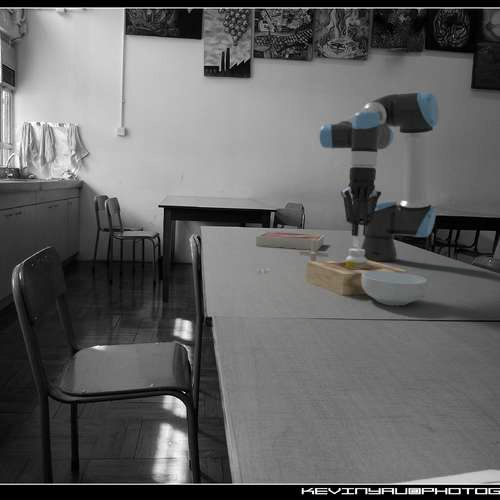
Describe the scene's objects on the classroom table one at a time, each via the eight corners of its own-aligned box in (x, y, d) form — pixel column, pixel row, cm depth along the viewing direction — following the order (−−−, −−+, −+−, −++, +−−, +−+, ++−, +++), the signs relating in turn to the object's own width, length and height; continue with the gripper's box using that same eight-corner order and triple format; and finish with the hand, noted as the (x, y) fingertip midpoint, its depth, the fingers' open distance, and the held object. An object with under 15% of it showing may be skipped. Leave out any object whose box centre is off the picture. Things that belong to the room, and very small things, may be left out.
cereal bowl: (415, 314, 125) (417, 285, 124) (350, 303, 134) (352, 276, 133) (431, 301, 140) (434, 275, 139) (372, 292, 148) (374, 267, 147)
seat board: (365, 277, 169) (366, 259, 168) (405, 291, 151) (407, 270, 150) (306, 280, 160) (307, 261, 159) (342, 295, 142) (343, 273, 141)
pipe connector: (326, 271, 178) (328, 242, 177) (297, 268, 180) (299, 240, 179) (327, 266, 188) (329, 239, 186) (300, 264, 190) (302, 237, 188)
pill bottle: (342, 283, 159) (344, 247, 157) (362, 283, 159) (364, 248, 157) (347, 287, 152) (349, 250, 151) (367, 288, 153) (370, 251, 151)
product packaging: (266, 241, 256) (267, 231, 255) (323, 245, 249) (323, 235, 248) (255, 246, 235) (256, 235, 234) (317, 251, 228) (318, 240, 227)
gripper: (373, 167, 157) (367, 244, 160) (337, 165, 151) (332, 245, 155) (389, 167, 150) (383, 248, 153) (351, 165, 145) (346, 249, 148)
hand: (357, 246), depth 154 cm, fingers closed
